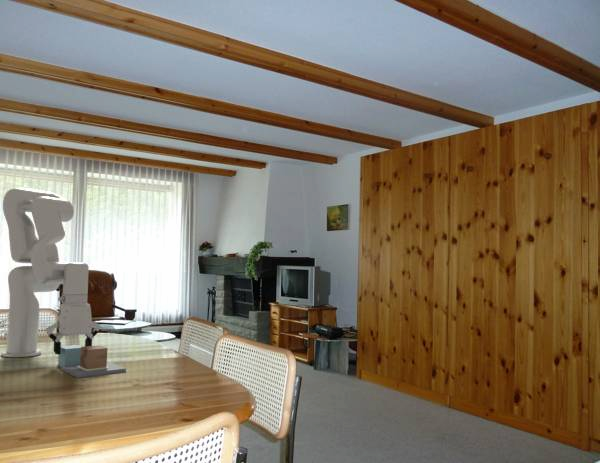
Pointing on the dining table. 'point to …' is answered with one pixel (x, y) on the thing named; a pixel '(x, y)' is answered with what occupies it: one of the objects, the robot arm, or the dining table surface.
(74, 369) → the grey flat slab
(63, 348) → the teal block
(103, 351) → the walnut block
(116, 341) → the dining table surface
